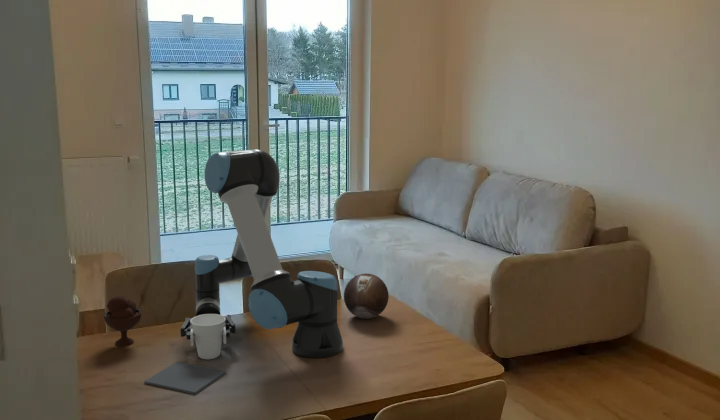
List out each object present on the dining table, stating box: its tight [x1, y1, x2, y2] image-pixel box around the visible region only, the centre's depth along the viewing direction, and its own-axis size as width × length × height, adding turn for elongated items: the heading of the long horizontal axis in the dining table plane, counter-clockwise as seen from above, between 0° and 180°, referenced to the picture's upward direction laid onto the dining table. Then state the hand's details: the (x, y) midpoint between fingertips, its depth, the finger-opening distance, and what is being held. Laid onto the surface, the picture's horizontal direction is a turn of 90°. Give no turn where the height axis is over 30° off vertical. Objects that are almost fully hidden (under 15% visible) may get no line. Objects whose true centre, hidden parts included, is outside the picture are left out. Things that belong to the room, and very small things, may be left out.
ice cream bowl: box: [103, 295, 142, 347], centre depth 208 cm, size 11×11×15 cm
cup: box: [190, 314, 226, 360], centre depth 200 cm, size 10×10×11 cm
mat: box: [144, 361, 227, 395], centre depth 186 cm, size 16×14×1 cm
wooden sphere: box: [343, 273, 390, 320], centre depth 233 cm, size 15×15×15 cm
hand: (208, 340), depth 195 cm, fingers closed on cup, 8 cm apart
